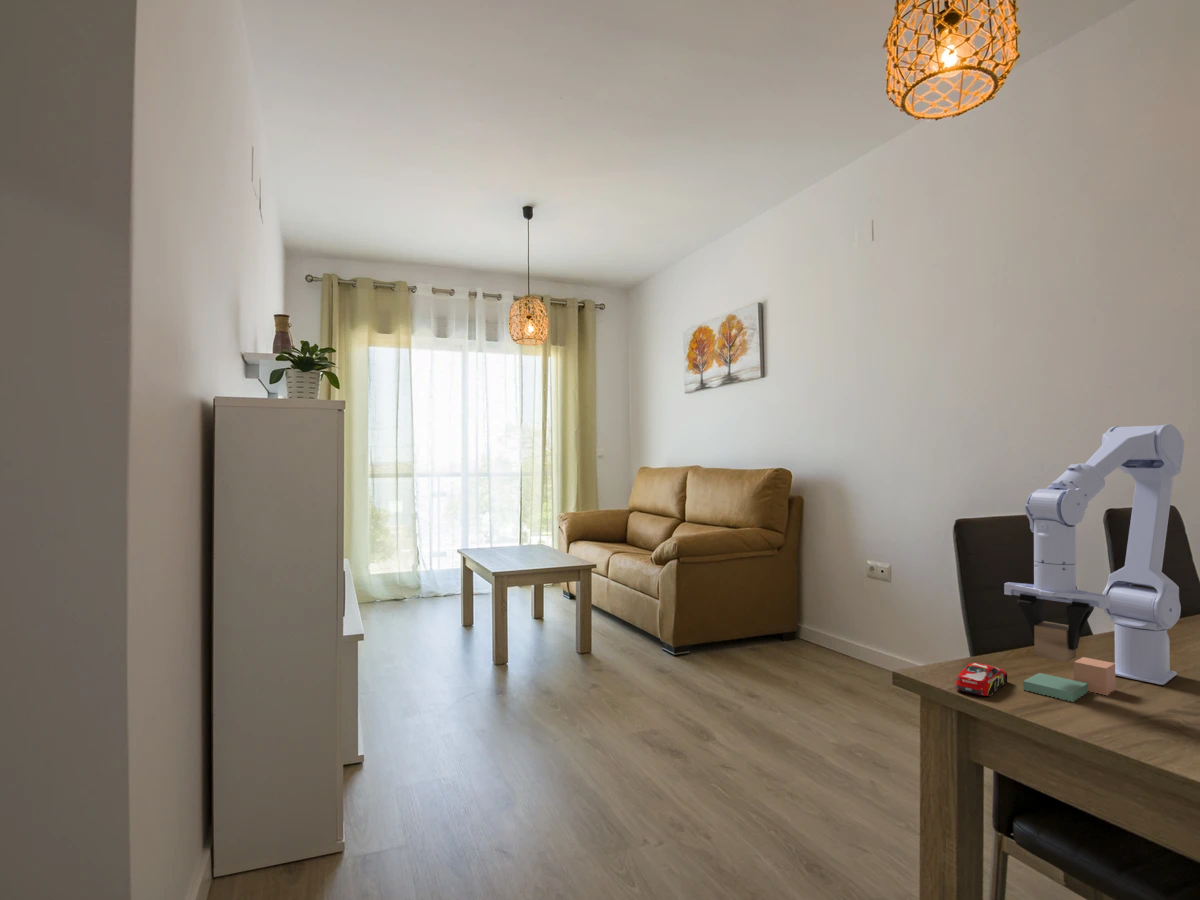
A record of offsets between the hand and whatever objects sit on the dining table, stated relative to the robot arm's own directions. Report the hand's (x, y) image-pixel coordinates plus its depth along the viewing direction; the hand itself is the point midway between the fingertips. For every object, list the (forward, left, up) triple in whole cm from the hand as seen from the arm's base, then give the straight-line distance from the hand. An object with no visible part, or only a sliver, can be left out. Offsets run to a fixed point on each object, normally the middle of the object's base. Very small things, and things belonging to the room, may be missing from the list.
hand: (1054, 645), depth 111 cm
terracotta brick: (-7, +4, -8) cm, 11 cm away
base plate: (0, 0, -8) cm, 8 cm away
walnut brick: (0, 0, -2) cm, 2 cm away
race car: (+7, -9, -8) cm, 14 cm away
